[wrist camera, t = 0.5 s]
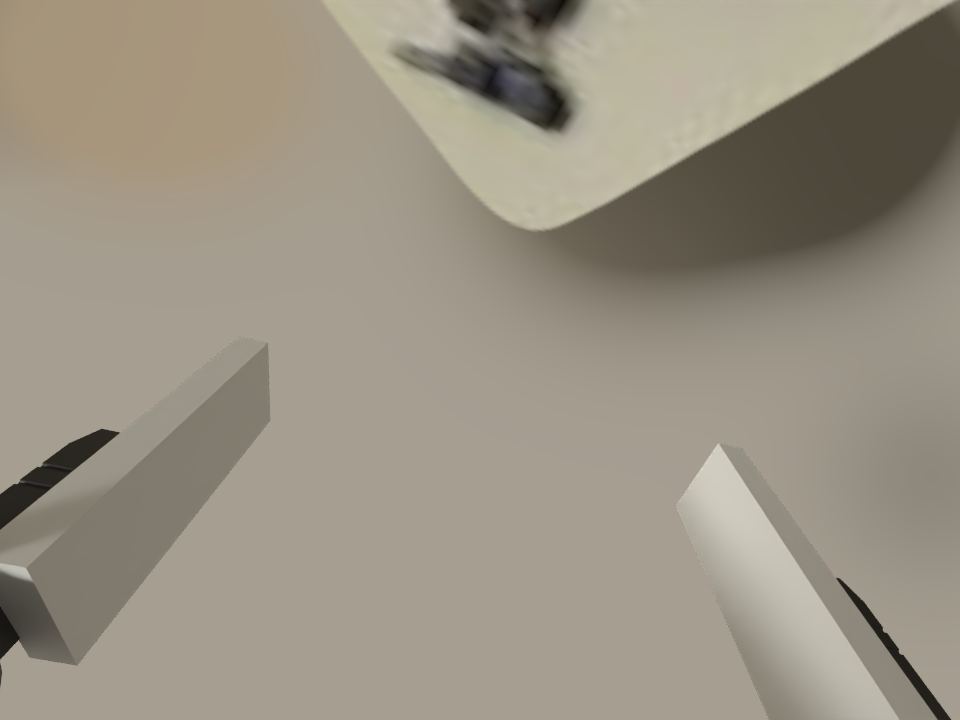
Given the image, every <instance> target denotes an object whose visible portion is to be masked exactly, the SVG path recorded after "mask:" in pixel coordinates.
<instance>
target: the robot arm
mask: <svg viewBox="0 0 960 720" xmlns="http://www.w3.org/2000/svg"><path fill="white" fill-rule="evenodd" d="M269 421H270V397H269V365H268V343H266V342H262V341H257V340H253V339H248V338H244V337H238V338H237V339H236V340H235V341H233V342H232V343H231V344H230V345H228V346H227V347H226V348H225V349H223V350H222V351H221V352H220V353H218V354H217V355H216V356H215V357H214V358H212V359H211V360H210V361H209V362H207V363H206V364H205V365H204V366H202V367H201V368H200V369H199V370H197V371H196V372H195V373H194V374H193V375H191V376H190V377H189V378H188V379H186V380H185V381H184V382H183V383H181V385H179V386H178V387H176V388H175V389H174V390H173V391H172V392H170V393H169V394H168V395H167V396H165V397H164V398H163V399H162V400H160V401H159V402H158V403H157V404H155V405H154V406H153V407H152V408H150V410H148V411H147V412H145V413H144V414H143V415H142V416H141V417H139V418H138V419H137V420H136V421H134V422H133V423H132V424H131V425H130V426H128V427H127V428H126V429H124V430H123V431H122V432H121V433H119V432H114V431H109V430H105V429H100V430H98V431H96V432H94V433H91V434H89V435H87V436H85V437H83V438H80V439H78V440H76V441H73V442H71V443H69V444H68V445H67V446H65V447H64V448H62V449H61V450H60V451H58V452H57V453H55V454H54V455H53V456H51V457H50V458H49V459H48V460H46V461H45V462H43V465H42V466H41V467H37V468H35V469H34V470H32V471H31V472H30V473H28V474H27V475H26V476H24V477H23V478H22V479H20V482H19V483H18V484H14V485H12V486H11V487H9V488H8V489H7V490H5V491H4V492H3V493H1V494H0V659H1V658H2V657H3V656H4V655H5V654H6V653H7V652H8V651H9V649H10V648H11V647H12V646H13V645H14V644H15V643H16V642H17V641H18V640H19V641H20V643H21V644H22V646H23V648H24V649H25V651H26V652H27V654H28V656H29V657H30V658H36V659H42V660H48V661H54V662H60V663H66V664H72V665H78V664H79V662H80V661H81V660H82V659H83V657H84V656H85V655H86V653H87V652H88V651H89V650H90V648H91V647H92V646H93V645H94V643H95V642H96V641H97V640H98V638H99V637H100V636H101V634H102V633H103V632H104V631H105V629H106V628H107V627H108V626H109V624H110V623H111V622H112V621H113V619H114V618H115V617H116V615H117V614H118V613H119V612H120V610H121V609H122V608H123V607H124V605H125V604H126V603H127V601H128V600H129V599H130V598H131V596H132V595H133V594H134V593H135V591H136V590H137V589H138V588H139V586H140V585H141V584H142V583H143V581H144V580H145V579H146V577H147V576H148V575H149V574H150V572H151V571H152V570H153V568H154V567H155V566H156V565H157V563H158V562H159V561H160V560H161V558H162V557H163V556H164V555H165V553H166V552H167V551H168V550H169V548H170V547H171V546H172V544H173V543H174V542H175V540H176V539H177V538H178V537H179V536H180V534H181V533H182V532H183V531H184V529H185V528H186V527H187V525H188V524H189V523H190V522H191V520H192V519H193V518H194V517H195V515H196V514H197V513H198V511H199V510H200V509H201V508H202V506H203V505H204V504H205V503H206V501H207V500H208V499H209V497H210V496H211V495H212V494H213V492H214V491H215V490H216V489H217V487H218V486H219V485H220V484H221V482H222V481H223V480H224V479H225V477H226V476H227V475H228V473H229V472H230V471H231V470H232V468H233V467H234V466H235V464H236V463H237V462H238V461H239V459H240V458H241V457H242V456H243V454H244V453H245V452H246V451H247V449H248V448H249V447H250V445H251V444H252V443H253V442H254V440H255V439H256V438H257V436H258V435H259V434H260V433H261V431H262V430H263V429H264V428H265V427H266V425H267V424H268V423H269ZM676 508H677V510H678V513H679V515H680V517H681V519H682V522H683V524H684V526H685V528H686V531H687V533H688V535H689V538H690V540H691V542H692V544H693V547H694V549H695V551H696V554H697V556H698V558H699V561H700V563H701V565H702V567H703V570H704V572H705V574H706V577H707V579H708V581H709V583H710V586H711V588H712V590H713V593H714V595H715V597H716V599H717V602H718V604H719V606H720V609H721V611H722V613H723V615H724V618H725V620H726V622H727V625H728V627H729V629H730V631H731V634H732V636H733V638H734V640H735V643H736V645H737V647H738V650H739V652H740V654H741V656H742V659H743V661H744V663H745V666H746V668H747V670H748V672H749V675H750V677H751V679H752V681H753V684H754V686H755V689H756V691H757V693H758V695H759V698H760V700H761V702H762V704H763V707H764V709H765V711H766V714H767V716H768V718H769V720H951V719H950V717H949V716H948V715H947V713H946V712H945V711H944V709H943V708H942V707H941V705H940V704H939V703H938V702H937V700H936V698H935V697H934V696H933V694H932V693H931V692H930V690H929V689H928V688H927V686H926V685H925V684H924V682H923V681H922V680H921V678H920V677H919V676H918V674H917V673H916V672H915V670H914V669H913V668H912V666H911V665H910V663H909V662H908V661H907V660H906V658H905V657H904V655H901V654H899V651H898V650H899V649H898V647H897V646H896V645H895V644H894V642H893V641H892V639H891V638H890V636H889V635H888V634H887V633H884V632H883V627H882V626H881V624H880V623H879V622H878V620H877V619H876V618H875V616H874V615H873V614H872V612H871V611H870V609H869V608H868V607H867V605H866V604H865V603H864V602H863V601H862V600H861V599H860V598H859V597H858V596H857V595H856V594H855V593H854V592H853V591H852V590H851V589H850V588H849V587H848V586H847V585H846V584H845V583H844V582H843V581H841V579H839V578H835V576H834V575H833V573H832V572H831V571H830V569H829V568H828V567H827V565H826V564H825V562H824V561H823V560H822V558H821V557H820V555H819V554H818V553H817V551H816V550H815V548H814V547H813V546H812V544H811V543H810V542H809V540H808V539H807V537H806V536H805V534H804V533H803V532H802V530H801V529H800V528H799V526H798V525H797V524H796V522H795V521H794V519H793V518H792V516H791V515H790V514H789V512H788V511H787V510H786V508H785V507H784V505H783V504H782V503H781V501H780V500H779V498H778V497H777V496H776V494H775V493H774V491H773V490H772V489H771V487H770V486H769V485H768V483H767V482H766V480H765V479H764V477H763V476H762V475H761V473H760V472H759V471H758V469H757V468H756V466H755V465H754V464H753V462H752V461H751V459H750V458H749V457H748V455H747V454H746V452H745V451H744V450H743V449H742V448H738V447H733V446H728V445H724V444H719V443H718V445H717V446H716V447H715V449H714V450H713V452H712V453H711V455H710V456H709V458H708V459H707V461H706V462H705V464H704V465H703V467H702V468H701V470H700V471H699V473H698V474H697V475H696V477H695V479H694V480H693V481H692V483H691V484H690V486H689V487H688V489H687V490H686V492H685V493H684V495H683V496H682V498H681V499H680V500H679V502H678V503H677V505H676ZM1 676H2V670H1V665H0V684H1Z"/></svg>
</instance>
